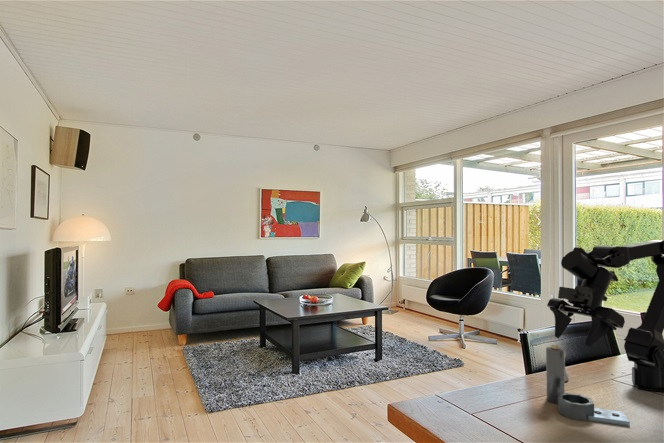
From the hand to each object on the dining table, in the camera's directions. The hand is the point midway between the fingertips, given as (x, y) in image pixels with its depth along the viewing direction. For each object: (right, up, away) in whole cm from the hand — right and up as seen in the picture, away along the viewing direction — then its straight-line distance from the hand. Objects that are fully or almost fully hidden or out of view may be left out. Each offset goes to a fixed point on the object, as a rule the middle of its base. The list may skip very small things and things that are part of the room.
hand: (571, 341), depth 109 cm
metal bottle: (-5, -14, -2) cm, 15 cm away
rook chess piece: (+5, -15, +14) cm, 21 cm away
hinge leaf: (-1, -14, -11) cm, 18 cm away
